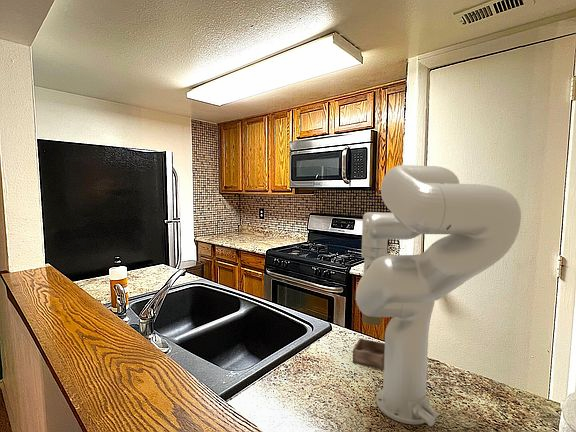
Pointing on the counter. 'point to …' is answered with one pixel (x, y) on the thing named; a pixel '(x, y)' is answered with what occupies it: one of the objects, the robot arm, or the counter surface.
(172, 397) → the counter surface
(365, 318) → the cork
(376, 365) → the shaker caddy
